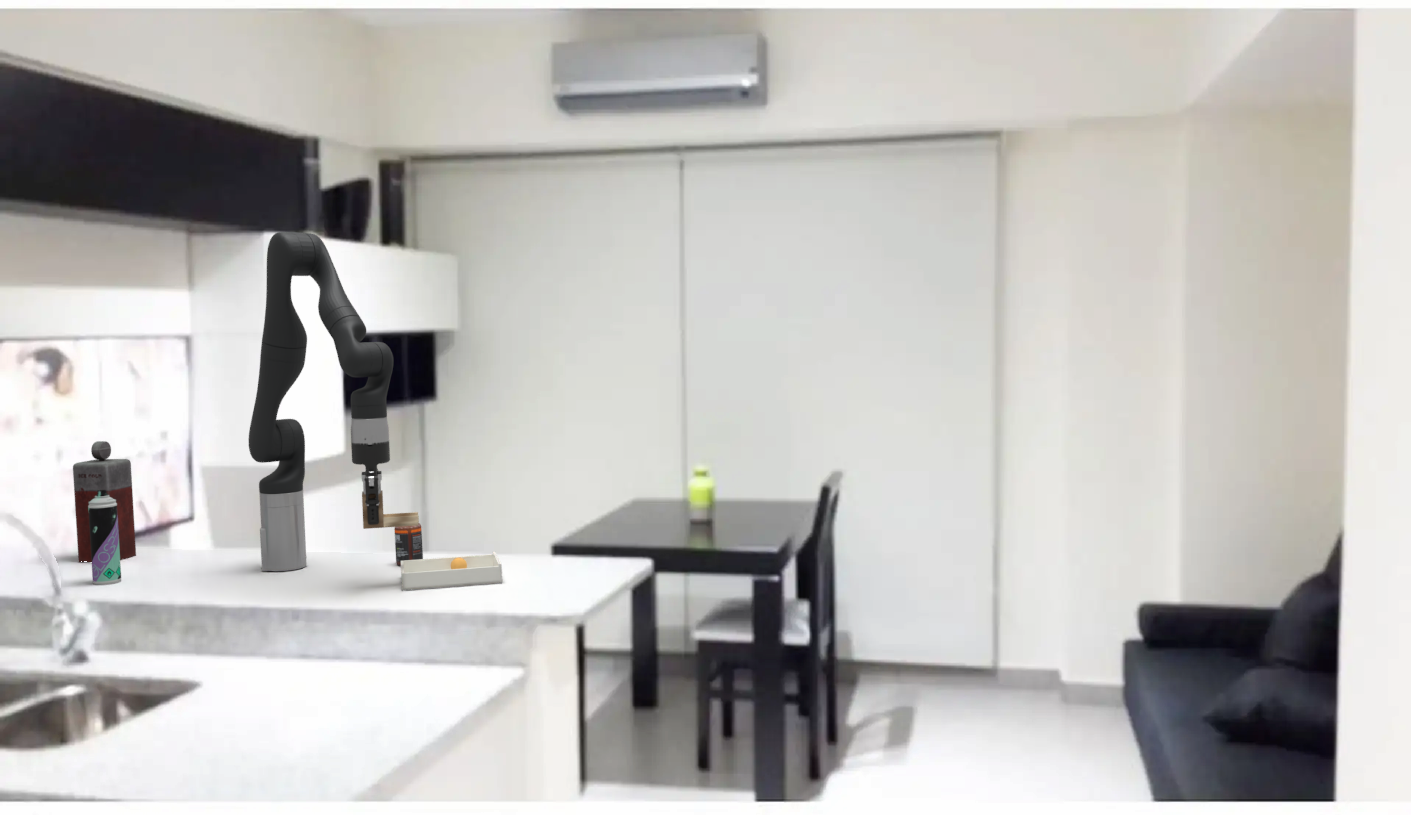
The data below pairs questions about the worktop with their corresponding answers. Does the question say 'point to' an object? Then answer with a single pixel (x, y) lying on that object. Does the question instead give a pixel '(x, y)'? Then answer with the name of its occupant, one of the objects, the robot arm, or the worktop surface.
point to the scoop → (388, 516)
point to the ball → (458, 563)
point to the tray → (450, 572)
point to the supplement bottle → (408, 543)
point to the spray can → (104, 539)
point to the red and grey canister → (118, 486)
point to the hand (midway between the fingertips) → (373, 521)
